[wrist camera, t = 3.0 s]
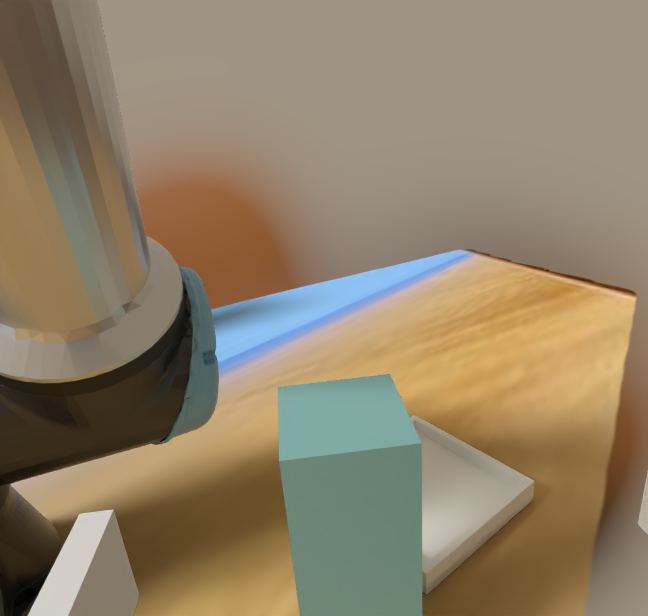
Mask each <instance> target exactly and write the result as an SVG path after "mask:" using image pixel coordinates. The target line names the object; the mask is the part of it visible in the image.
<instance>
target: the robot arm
mask: <svg viewBox="0 0 648 616" xmlns="http://www.w3.org/2000/svg"><path fill="white" fill-rule="evenodd" d="M215 350H216V336H215V329H214V323H213V318H212V313H211V309H210V305H209V301H208V297H207V294H206V291H205V289H204V285H203V283H202V281H201V279H200V277H199V276H198V274H197V273H196V272H195V271H194V270H193V269H190V268H188V267H178V265H177V264H176V262H175V260H174V259H173V257H172V256H171V254H170V253H169V252H168V251H167V250H166V249H165V248H164V247H163V246H162V245H160V244H159V243H158V242H156V241H155V240H153V239H152V238H150V237H148V236H146V234H145V229H144V225H143V220H142V215H141V210H140V205H139V200H138V195H137V191H136V186H135V181H134V176H133V171H132V166H131V162H130V157H129V152H128V147H127V142H126V137H125V132H124V128H123V123H122V118H121V113H120V108H119V103H118V98H117V93H116V89H115V84H114V79H113V74H112V69H111V64H110V59H109V55H108V50H107V45H106V41H105V35H104V30H103V25H102V21H101V16H100V11H99V6H98V1H97V0H0V616H134V612H135V609H136V606H137V602H138V599H139V593H138V589H137V586H136V583H135V579H134V576H133V573H132V569H131V566H130V563H129V559H128V556H127V552H126V549H125V546H124V542H123V539H122V536H121V532H120V529H119V526H118V522H117V519H116V516H115V512H114V509H112V510H104V511H97V512H89V513H82V514H79V516H78V518H77V520H76V522H75V524H74V526H73V528H72V530H71V532H70V534H69V536H68V538H67V539H66V541H65V543H64V545H63V542H62V539H61V537H60V535H59V533H58V531H57V530H56V528H55V527H54V526H53V525H52V524H51V523H50V522H49V521H48V520H47V519H46V518H45V517H44V516H43V515H42V514H41V513H40V512H38V511H37V510H36V509H35V508H34V507H33V506H32V505H31V504H30V503H29V502H28V501H27V500H26V499H24V498H23V497H22V496H21V495H20V494H19V493H18V492H17V491H16V490H15V489H14V488H13V487H12V486H11V485H10V484H11V483H14V482H17V481H21V480H24V479H28V478H31V477H35V476H38V475H42V474H46V473H49V472H53V471H56V470H60V469H63V468H67V467H70V466H74V465H77V464H81V463H84V462H88V461H92V460H95V459H99V458H102V457H106V456H109V455H113V454H116V453H120V452H123V451H127V450H130V449H134V448H138V447H141V446H145V445H148V444H155V445H157V444H163V443H166V442H168V441H169V440H170V439H172V438H173V437H176V436H179V435H181V434H184V433H187V432H190V431H193V430H196V429H198V428H200V427H202V426H203V425H205V424H206V423H207V422H208V421H209V419H210V418H211V416H212V414H213V412H214V410H215V406H216V403H217V397H218V384H219V372H218V361H217V358H216V355H215ZM638 525H639V526H640V527H641V528H642V529H643V530H644V531H645V532H646V534H647V535H648V472H647V478H646V483H645V488H644V493H643V499H642V504H641V509H640V514H639V520H638Z"/></svg>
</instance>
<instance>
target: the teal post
mask: <svg viewBox="0 0 648 616" xmlns="http://www.w3.org/2000/svg"><path fill="white" fill-rule="evenodd" d="M278 426H279V465H280V472H281V479H282V487H283V494H284V501H285V509H286V516H287V523H288V531H289V538H290V545H291V553H292V560H293V567H294V575H295V582H296V589H297V597H298V604H299V611H300V616H422V443H421V440H420V438H419V436H418V434H417V432H416V430H415V427H414V425H413V423H412V421H411V419H410V417H409V414H408V412H407V410H406V408H405V406H404V404H403V402H402V399H401V397H400V395H399V393H398V391H397V389H396V386H395V384H394V382H393V380H392V378H391V376H390V374H387V375H378V376H369V377H361V378H352V379H344V380H335V381H327V382H318V383H310V384H301V385H292V386H284V387H278Z"/></svg>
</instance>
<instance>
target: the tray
mask: <svg viewBox="0 0 648 616" xmlns="http://www.w3.org/2000/svg"><path fill="white" fill-rule="evenodd" d="M410 419H411V421H412V423H413V425H414V427H415V430H416V432H417V434H418V436H419V438H420V440H421V443H422V592H423V593H425V594H426V595H427V594H428V593H429V592H430V591H432V590H433V589H434V588H435V587H436V586H437V585H438V584H439V583H441V582H442V581H443V580H444V579H445V578H446V577H447V576H448V575H449V574H451V573H452V572H453V571H454V570H455V569H456V568H457V567H458V566H460V565H461V564H462V563H463V562H464V561H465V560H466V559H467V558H468V557H470V556H471V555H472V554H473V553H474V552H475V551H476V550H477V549H479V548H480V547H481V546H482V545H483V544H484V543H485V542H486V541H487V540H489V539H490V538H491V537H492V536H493V535H494V534H495V533H496V532H498V531H499V530H500V529H501V528H502V527H503V526H504V525H505V524H507V523H508V522H509V521H510V520H511V519H512V518H513V517H514V516H515V515H517V514H518V513H519V512H520V511H521V510H522V509H523V508H524V507H526V506H527V505H528V504H529V503H530V502H531V501H532V500H533V493H534V483H535V481H534V480H532V479H530V478H528V477H527V476H525V475H523V474H521V473H519V472H518V471H516V470H514V469H512V468H510V467H508V466H507V465H505V464H503V463H501V462H499V461H498V460H496V459H494V458H492V457H490V456H488V455H487V454H485V453H483V452H481V451H479V450H478V449H476V448H474V447H472V446H470V445H468V444H467V443H465V442H463V441H461V440H459V439H458V438H456V437H454V436H452V435H450V434H448V433H447V432H445V431H443V430H441V429H439V428H438V427H436V426H434V425H432V424H430V423H428V422H427V421H425V420H423V419H421V418H419V417H417V416H416V415H413V416H411V417H410Z"/></svg>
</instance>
